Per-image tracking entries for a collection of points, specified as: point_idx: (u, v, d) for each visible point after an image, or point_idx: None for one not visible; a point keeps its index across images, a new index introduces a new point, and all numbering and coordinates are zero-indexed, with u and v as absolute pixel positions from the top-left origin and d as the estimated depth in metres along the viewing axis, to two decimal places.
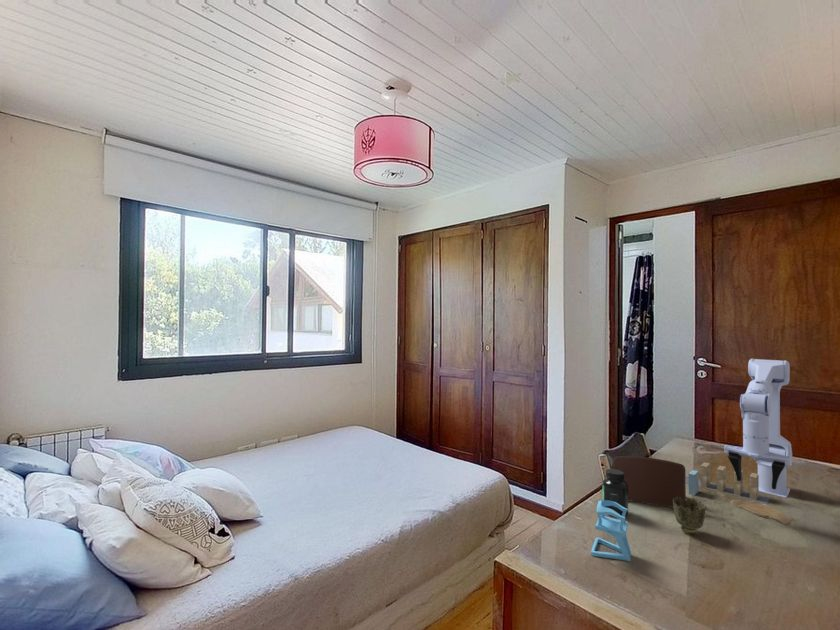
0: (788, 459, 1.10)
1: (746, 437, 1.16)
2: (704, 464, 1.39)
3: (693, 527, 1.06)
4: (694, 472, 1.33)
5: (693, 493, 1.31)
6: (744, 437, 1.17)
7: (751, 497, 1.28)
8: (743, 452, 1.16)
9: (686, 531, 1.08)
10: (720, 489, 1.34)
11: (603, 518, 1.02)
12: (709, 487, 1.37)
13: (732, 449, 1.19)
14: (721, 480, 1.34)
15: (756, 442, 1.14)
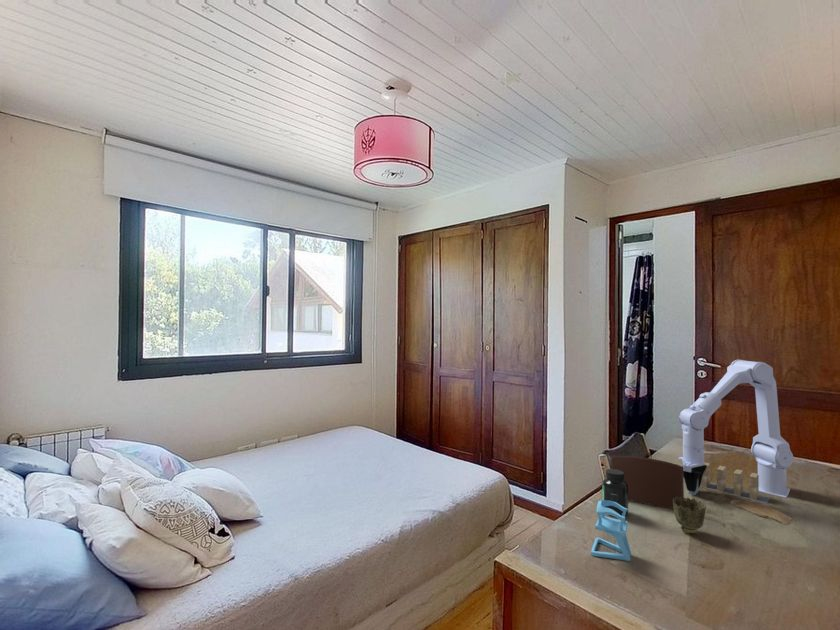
0: None
1: None
2: None
3: (693, 527, 1.06)
4: None
5: (693, 493, 1.31)
6: None
7: (751, 497, 1.28)
8: None
9: (686, 531, 1.08)
10: (720, 489, 1.34)
11: (603, 518, 1.02)
12: (709, 487, 1.37)
13: None
14: (721, 480, 1.34)
15: None
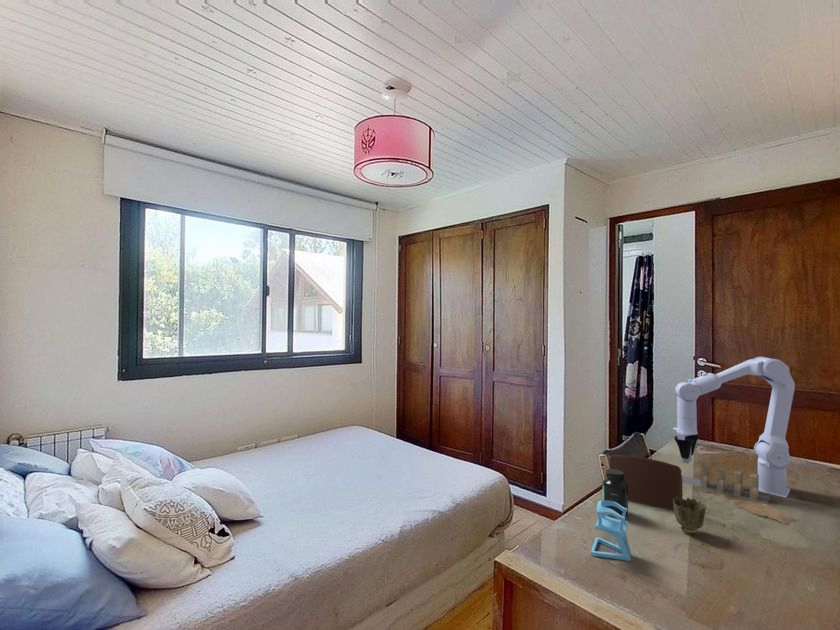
0: None
1: None
2: (704, 464, 1.39)
3: (693, 527, 1.06)
4: None
5: (686, 460, 1.40)
6: None
7: (751, 497, 1.28)
8: None
9: (686, 531, 1.08)
10: (720, 489, 1.34)
11: (603, 518, 1.02)
12: (709, 487, 1.37)
13: None
14: (721, 480, 1.34)
15: (677, 419, 1.44)
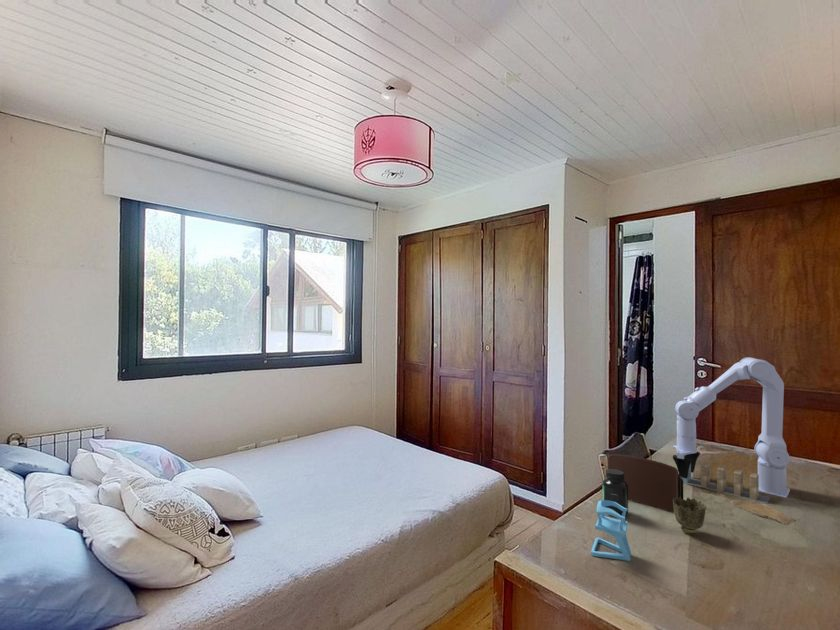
0: None
1: None
2: (704, 464, 1.39)
3: (693, 527, 1.06)
4: None
5: (686, 479, 1.41)
6: None
7: (751, 497, 1.28)
8: None
9: (686, 531, 1.08)
10: (720, 489, 1.34)
11: (603, 518, 1.02)
12: (709, 487, 1.37)
13: None
14: (721, 480, 1.34)
15: None
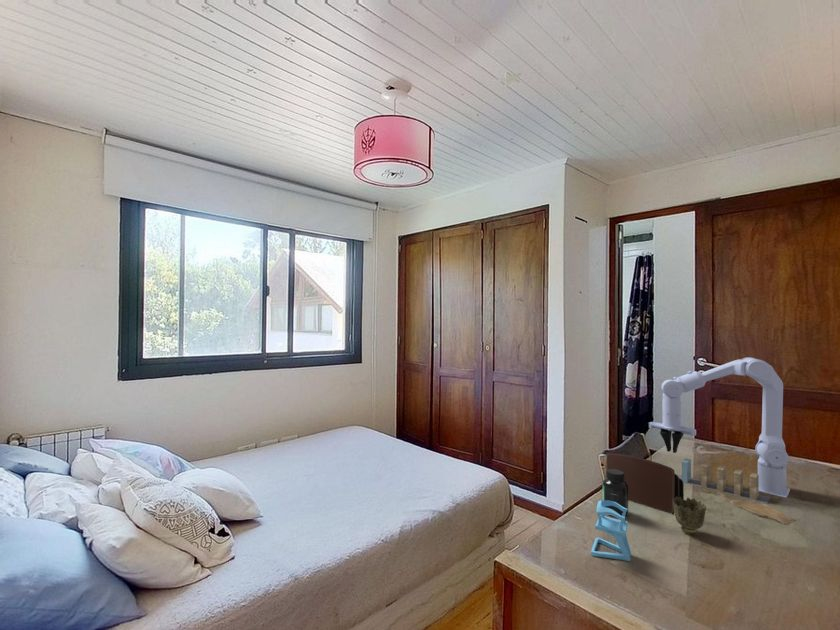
0: (693, 431, 1.41)
1: (664, 414, 1.46)
2: (704, 464, 1.39)
3: (693, 527, 1.06)
4: (687, 460, 1.43)
5: (686, 479, 1.41)
6: (663, 414, 1.47)
7: (751, 497, 1.28)
8: (662, 426, 1.47)
9: (686, 531, 1.08)
10: (720, 489, 1.34)
11: (603, 518, 1.02)
12: (709, 487, 1.37)
13: (654, 424, 1.49)
14: (721, 480, 1.34)
15: (670, 418, 1.44)
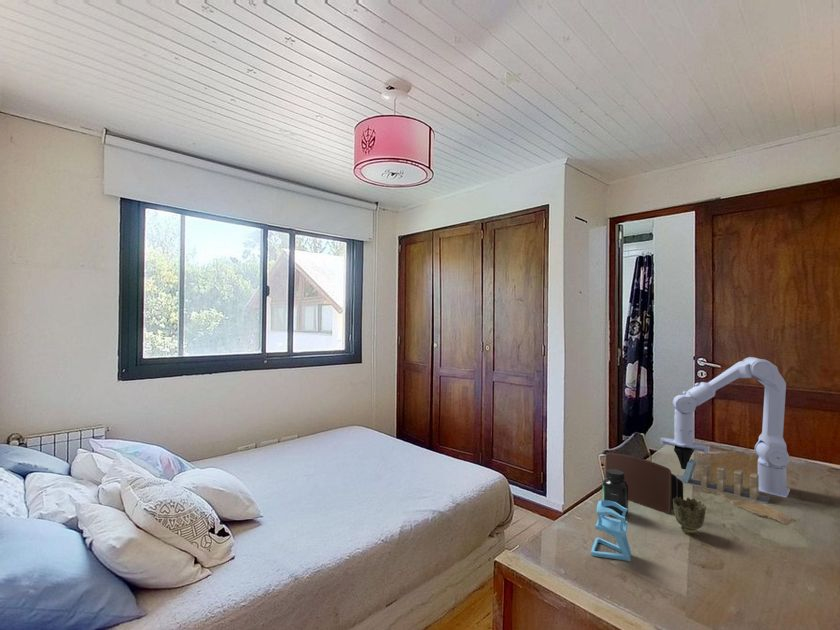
0: (706, 448, 1.38)
1: (676, 431, 1.44)
2: (704, 464, 1.39)
3: (693, 527, 1.06)
4: (693, 461, 1.42)
5: (687, 479, 1.41)
6: (675, 431, 1.44)
7: (751, 497, 1.28)
8: (674, 443, 1.44)
9: (686, 531, 1.08)
10: (720, 489, 1.34)
11: (603, 518, 1.02)
12: (709, 487, 1.37)
13: (666, 440, 1.46)
14: (721, 480, 1.34)
15: (683, 434, 1.41)
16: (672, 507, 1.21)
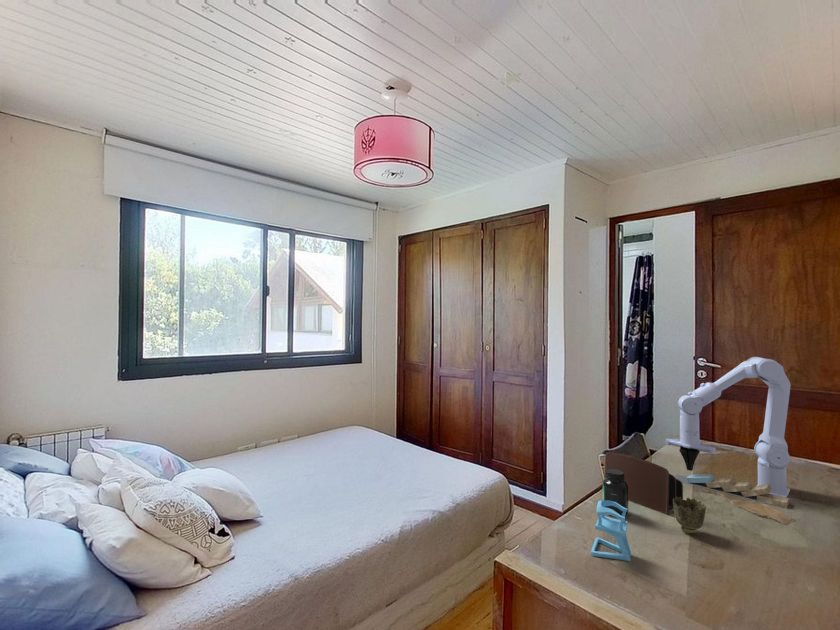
0: (713, 449, 1.37)
1: (681, 431, 1.42)
2: (731, 481, 1.33)
3: (693, 527, 1.06)
4: (712, 478, 1.38)
5: (690, 482, 1.40)
6: (680, 431, 1.43)
7: (758, 497, 1.27)
8: (679, 444, 1.43)
9: (686, 531, 1.08)
10: (725, 490, 1.33)
11: (603, 518, 1.02)
12: None
13: (672, 441, 1.45)
14: (736, 490, 1.31)
15: (688, 435, 1.40)
16: (670, 508, 1.21)
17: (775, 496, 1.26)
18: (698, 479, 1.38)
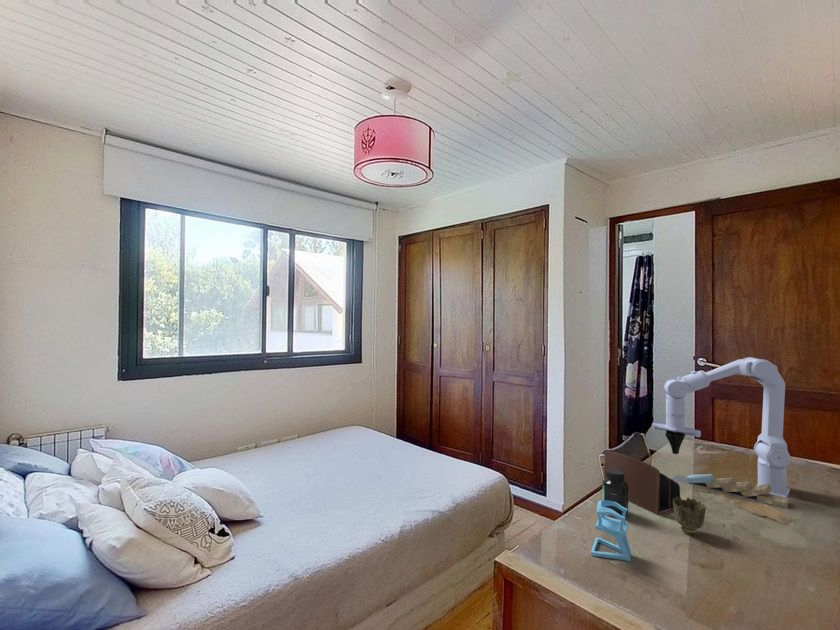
0: (698, 432, 1.37)
1: (667, 415, 1.43)
2: (731, 481, 1.33)
3: (693, 527, 1.06)
4: (712, 478, 1.38)
5: (690, 482, 1.40)
6: (666, 415, 1.44)
7: (758, 497, 1.27)
8: (665, 427, 1.43)
9: (686, 531, 1.08)
10: (725, 490, 1.33)
11: (603, 518, 1.02)
12: None
13: (658, 425, 1.46)
14: (736, 490, 1.31)
15: (674, 419, 1.41)
16: (663, 508, 1.20)
17: (775, 496, 1.26)
18: (698, 479, 1.38)
